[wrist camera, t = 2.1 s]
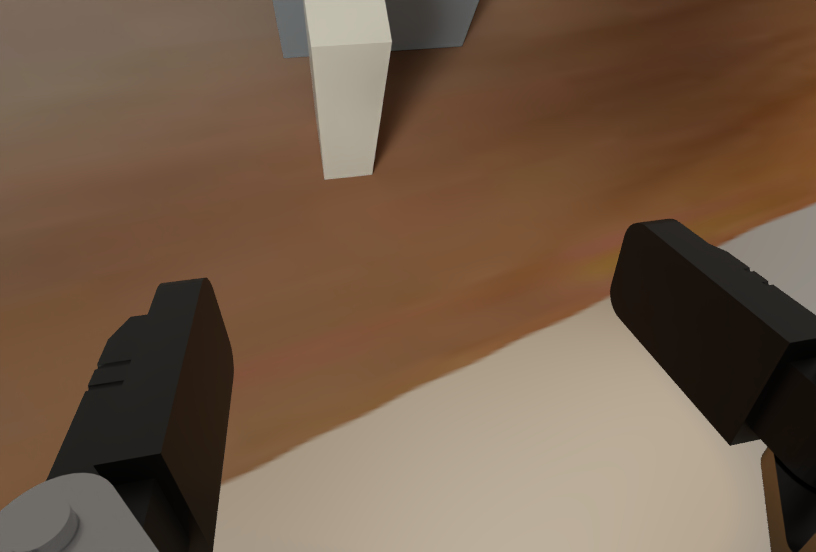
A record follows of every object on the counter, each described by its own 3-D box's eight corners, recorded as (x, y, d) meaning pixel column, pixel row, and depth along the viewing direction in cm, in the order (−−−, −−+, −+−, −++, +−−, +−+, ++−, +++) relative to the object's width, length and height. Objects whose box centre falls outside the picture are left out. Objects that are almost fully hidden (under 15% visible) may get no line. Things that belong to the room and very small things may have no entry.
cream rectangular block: (324, 179, 30) (311, 46, 18) (316, 120, 31) (297, -49, 18) (372, 174, 31) (391, 42, 18) (362, 116, 32) (376, -51, 19)
